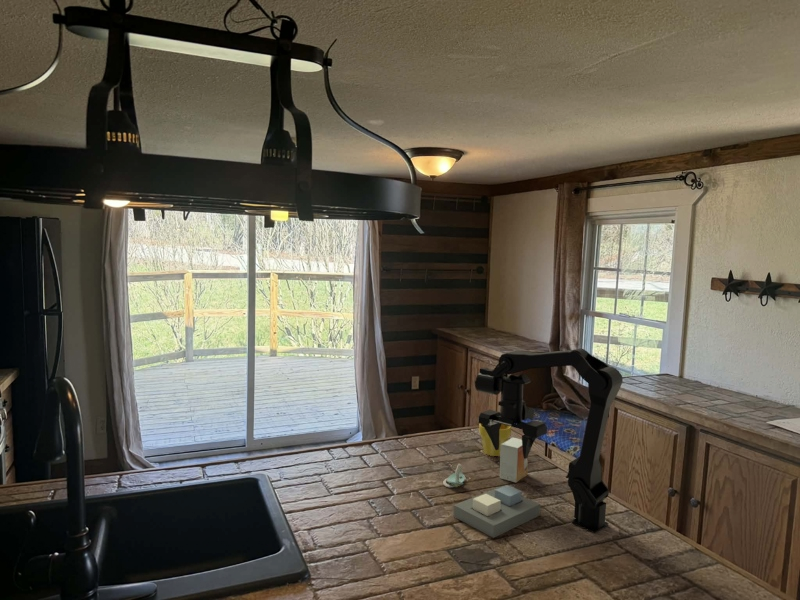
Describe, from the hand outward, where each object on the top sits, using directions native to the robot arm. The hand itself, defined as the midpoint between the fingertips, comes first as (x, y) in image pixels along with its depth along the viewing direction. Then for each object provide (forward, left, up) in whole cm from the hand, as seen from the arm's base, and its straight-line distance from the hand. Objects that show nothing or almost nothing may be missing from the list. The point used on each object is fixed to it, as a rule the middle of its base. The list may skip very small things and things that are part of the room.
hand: (511, 453), depth 150 cm
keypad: (-6, +12, -12) cm, 18 cm away
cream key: (-6, +16, -9) cm, 19 cm away
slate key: (-6, +8, -9) cm, 13 cm away
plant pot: (+23, -21, -12) cm, 34 cm away
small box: (+7, -11, -12) cm, 18 cm away
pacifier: (+15, +7, -12) cm, 20 cm away
